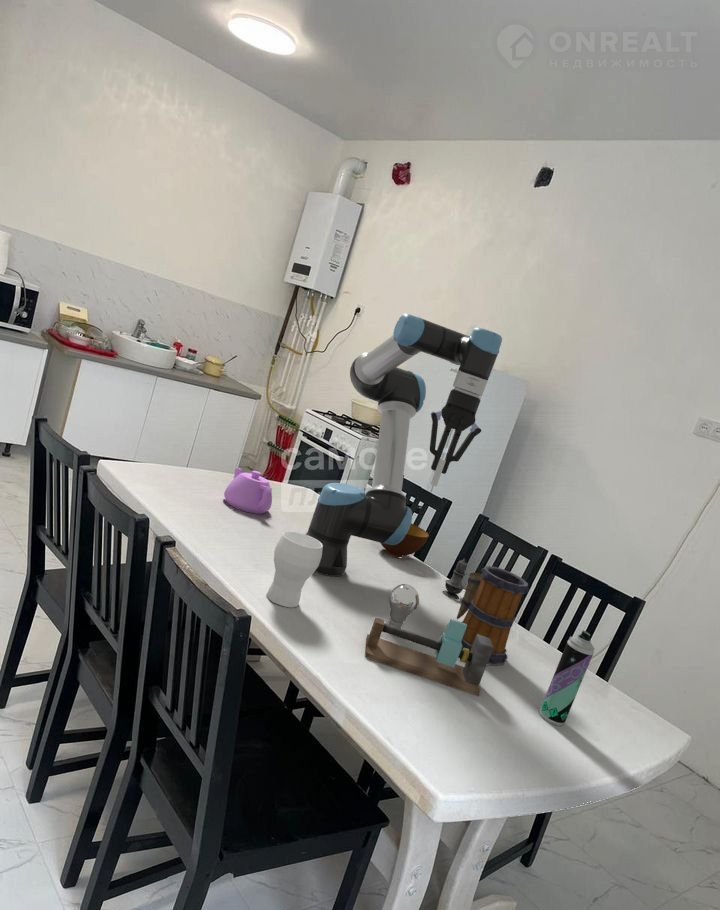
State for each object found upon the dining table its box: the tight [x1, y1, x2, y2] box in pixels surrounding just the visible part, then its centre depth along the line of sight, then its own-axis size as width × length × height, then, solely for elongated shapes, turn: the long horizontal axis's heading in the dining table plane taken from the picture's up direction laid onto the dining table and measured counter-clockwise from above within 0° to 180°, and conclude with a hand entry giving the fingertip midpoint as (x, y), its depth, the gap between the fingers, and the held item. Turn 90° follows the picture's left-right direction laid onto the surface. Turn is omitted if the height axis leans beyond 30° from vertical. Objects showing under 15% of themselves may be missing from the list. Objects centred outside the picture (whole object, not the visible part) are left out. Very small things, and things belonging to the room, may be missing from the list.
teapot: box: [223, 467, 273, 515], centre depth 224 cm, size 22×16×12 cm
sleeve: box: [434, 618, 467, 667], centre depth 148 cm, size 4×4×9 cm
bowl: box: [380, 522, 430, 558], centre depth 228 cm, size 18×18×10 cm
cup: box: [266, 530, 323, 608], centre depth 158 cm, size 11×11×15 cm
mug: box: [456, 565, 530, 667], centre depth 170 cm, size 19×14×20 cm
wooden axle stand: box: [364, 616, 493, 697], centre depth 148 cm, size 25×10×10 cm, turn 88°
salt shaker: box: [441, 558, 468, 600], centre depth 205 cm, size 6×6×12 cm
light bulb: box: [387, 583, 420, 629], centre depth 161 cm, size 7×7×12 cm
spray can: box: [538, 630, 595, 727], centre depth 144 cm, size 6×6×20 cm
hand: (433, 484), depth 169 cm, fingers closed
